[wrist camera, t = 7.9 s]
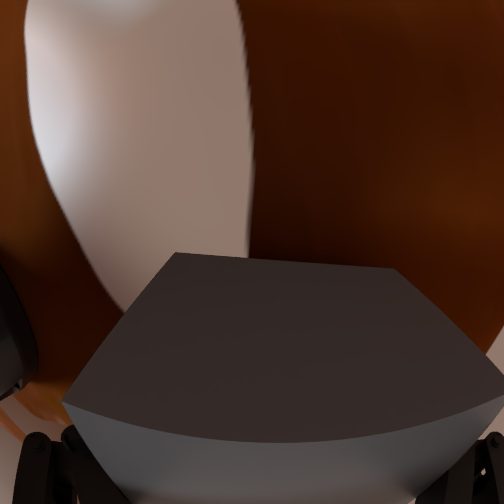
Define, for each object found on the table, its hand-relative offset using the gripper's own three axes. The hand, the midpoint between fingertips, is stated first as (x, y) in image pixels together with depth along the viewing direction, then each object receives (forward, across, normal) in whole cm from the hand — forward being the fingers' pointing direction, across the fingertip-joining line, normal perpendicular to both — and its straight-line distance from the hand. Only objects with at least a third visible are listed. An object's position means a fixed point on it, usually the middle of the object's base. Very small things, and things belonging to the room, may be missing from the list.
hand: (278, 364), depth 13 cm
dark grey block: (+1, 0, 0) cm, 1 cm away
